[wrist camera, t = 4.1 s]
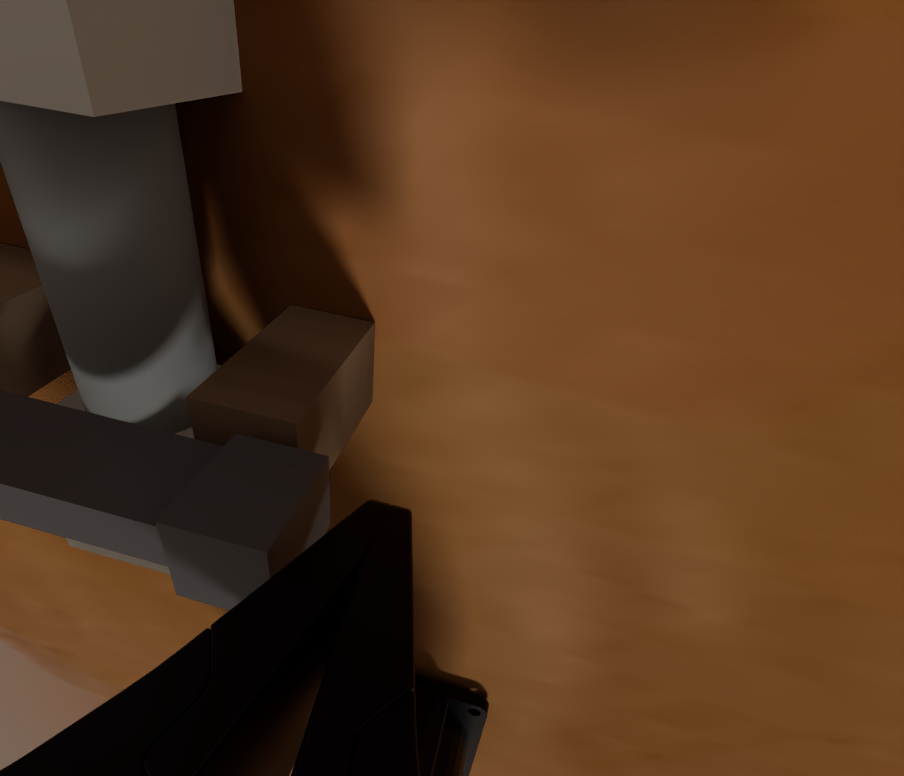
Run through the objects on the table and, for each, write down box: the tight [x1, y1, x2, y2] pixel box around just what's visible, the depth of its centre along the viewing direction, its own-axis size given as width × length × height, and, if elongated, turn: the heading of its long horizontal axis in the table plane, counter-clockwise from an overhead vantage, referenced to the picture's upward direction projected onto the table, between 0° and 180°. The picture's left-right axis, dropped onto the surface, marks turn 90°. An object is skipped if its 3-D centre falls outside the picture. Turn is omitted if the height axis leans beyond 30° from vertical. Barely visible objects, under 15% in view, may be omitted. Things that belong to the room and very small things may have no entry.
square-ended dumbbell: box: [0, 0, 242, 575], centre depth 12 cm, size 15×4×4 cm, turn 174°
